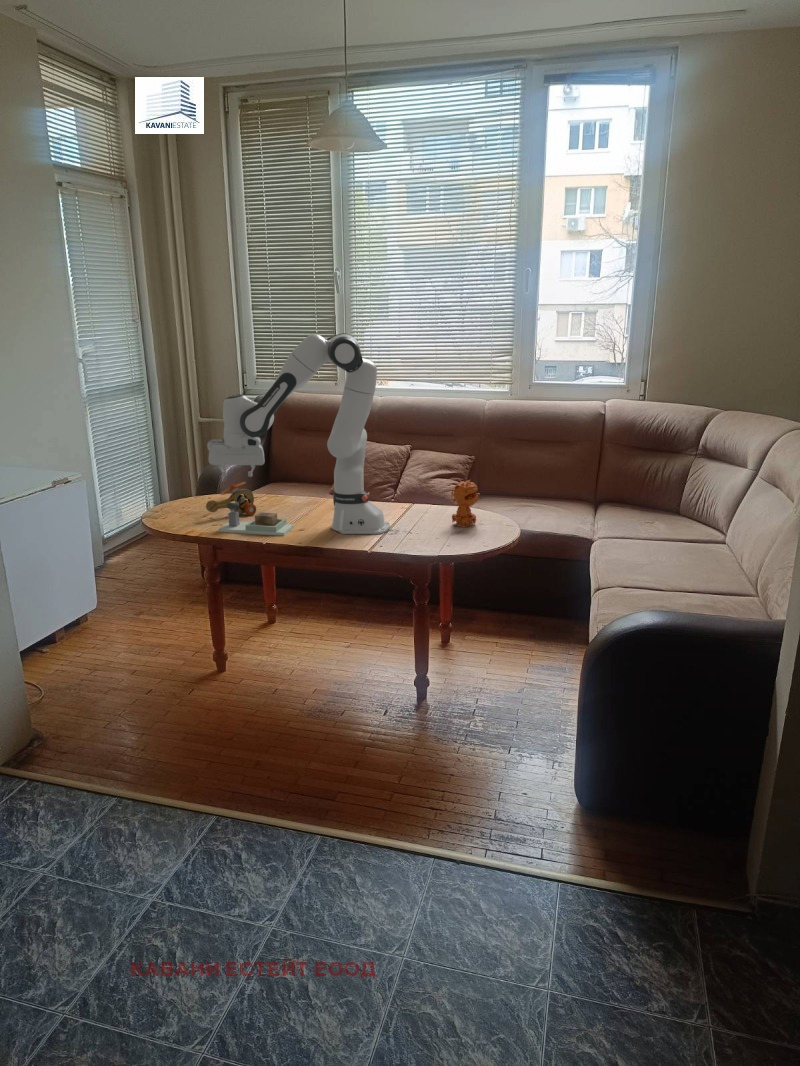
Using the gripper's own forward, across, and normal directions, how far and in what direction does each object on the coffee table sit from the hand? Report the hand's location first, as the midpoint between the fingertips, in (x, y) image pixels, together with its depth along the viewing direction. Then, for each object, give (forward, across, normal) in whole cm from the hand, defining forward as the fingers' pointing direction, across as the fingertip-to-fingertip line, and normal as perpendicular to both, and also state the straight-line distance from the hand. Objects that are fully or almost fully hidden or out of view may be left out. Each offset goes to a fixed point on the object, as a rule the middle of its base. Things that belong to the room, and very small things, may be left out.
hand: (237, 476), depth 266 cm
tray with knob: (+20, +7, -1) cm, 22 cm away
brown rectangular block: (+19, +10, -2) cm, 22 cm away
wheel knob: (+16, -2, +2) cm, 16 cm away
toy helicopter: (+21, -4, +20) cm, 29 cm away
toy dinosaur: (+18, +87, -6) cm, 89 cm away
